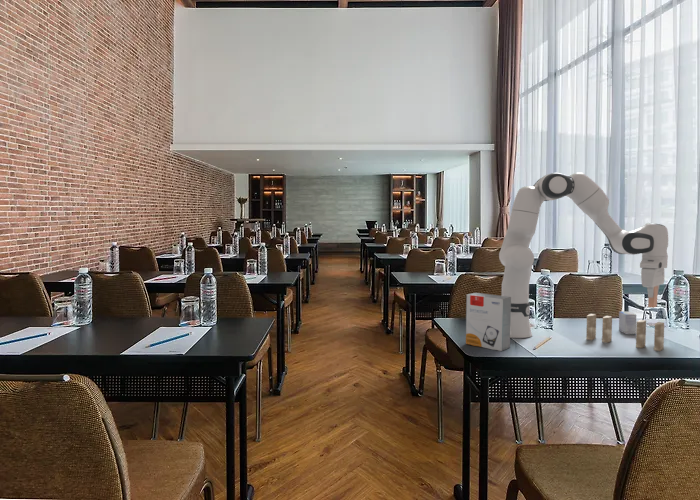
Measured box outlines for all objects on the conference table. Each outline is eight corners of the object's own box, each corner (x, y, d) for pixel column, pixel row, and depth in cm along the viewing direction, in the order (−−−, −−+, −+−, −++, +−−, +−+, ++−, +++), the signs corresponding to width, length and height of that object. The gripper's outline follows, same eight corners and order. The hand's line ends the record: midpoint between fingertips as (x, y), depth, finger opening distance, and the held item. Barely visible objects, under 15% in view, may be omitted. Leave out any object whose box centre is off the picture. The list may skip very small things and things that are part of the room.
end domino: (654, 350, 176) (654, 323, 176) (657, 347, 180) (658, 321, 179) (660, 351, 175) (661, 324, 175) (663, 348, 179) (664, 322, 178)
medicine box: (636, 334, 202) (636, 314, 202) (625, 334, 203) (625, 314, 203) (629, 330, 210) (629, 311, 209) (618, 330, 211) (619, 311, 210)
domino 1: (586, 339, 194) (586, 315, 193) (590, 337, 197) (591, 313, 197) (591, 340, 192) (592, 316, 192) (595, 338, 196) (596, 314, 195)
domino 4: (648, 307, 192) (649, 282, 192) (651, 305, 196) (652, 281, 195) (653, 307, 191) (654, 283, 190) (656, 306, 194) (657, 282, 194)
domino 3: (635, 347, 181) (636, 321, 180) (639, 345, 184) (640, 319, 184) (641, 348, 179) (642, 322, 179) (645, 345, 183) (646, 320, 182)
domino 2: (602, 341, 189) (602, 317, 189) (606, 339, 193) (606, 315, 192) (607, 342, 188) (608, 318, 187) (611, 340, 191) (612, 316, 191)
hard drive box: (464, 344, 186) (465, 294, 185) (474, 341, 191) (475, 292, 190) (501, 351, 175) (502, 298, 174) (510, 347, 180) (511, 296, 180)
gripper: (652, 261, 202) (650, 293, 202) (638, 263, 187) (637, 298, 188) (669, 262, 197) (667, 295, 198) (657, 264, 183) (655, 300, 184)
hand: (652, 296), depth 193 cm, fingers closed on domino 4, 5 cm apart
